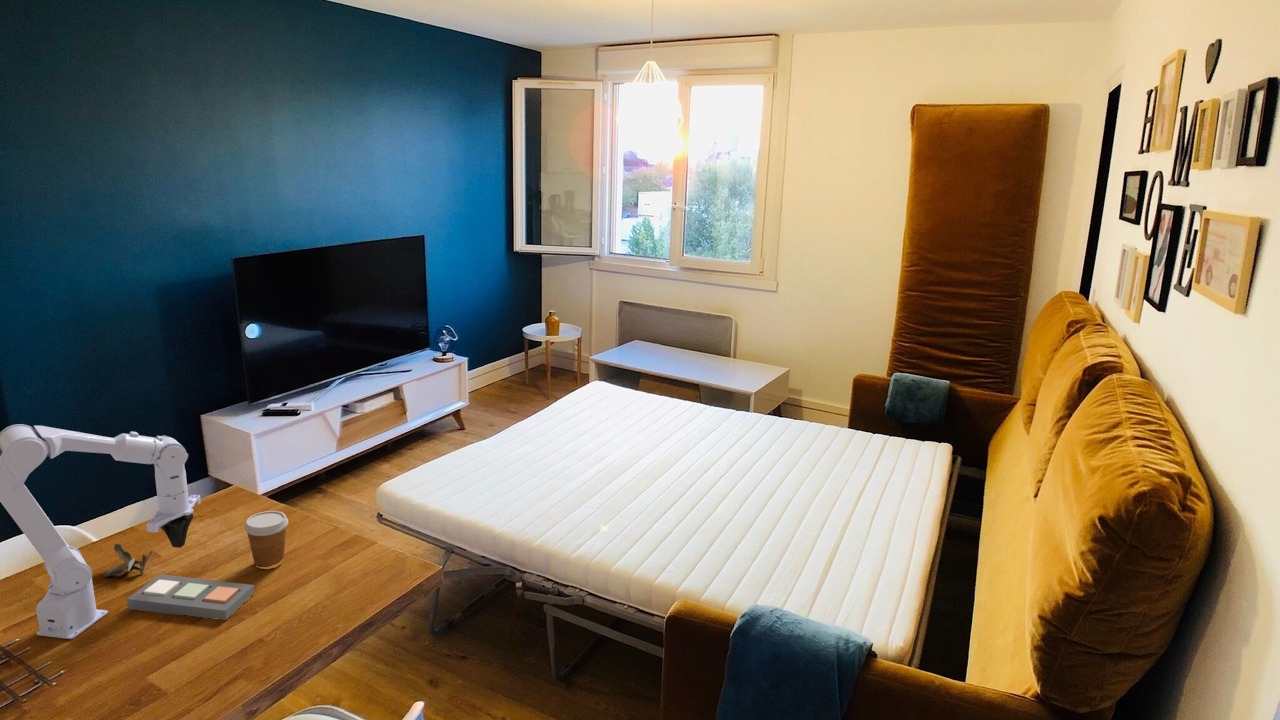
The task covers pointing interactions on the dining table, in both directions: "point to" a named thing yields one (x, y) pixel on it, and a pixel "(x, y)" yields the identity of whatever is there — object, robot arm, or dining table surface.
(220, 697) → the dining table surface
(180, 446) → the robot arm
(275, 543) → the disposable coffee cup
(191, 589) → the sage key
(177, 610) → the key frame
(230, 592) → the terracotta key
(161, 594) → the ivory key
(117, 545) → the eagle figurine
